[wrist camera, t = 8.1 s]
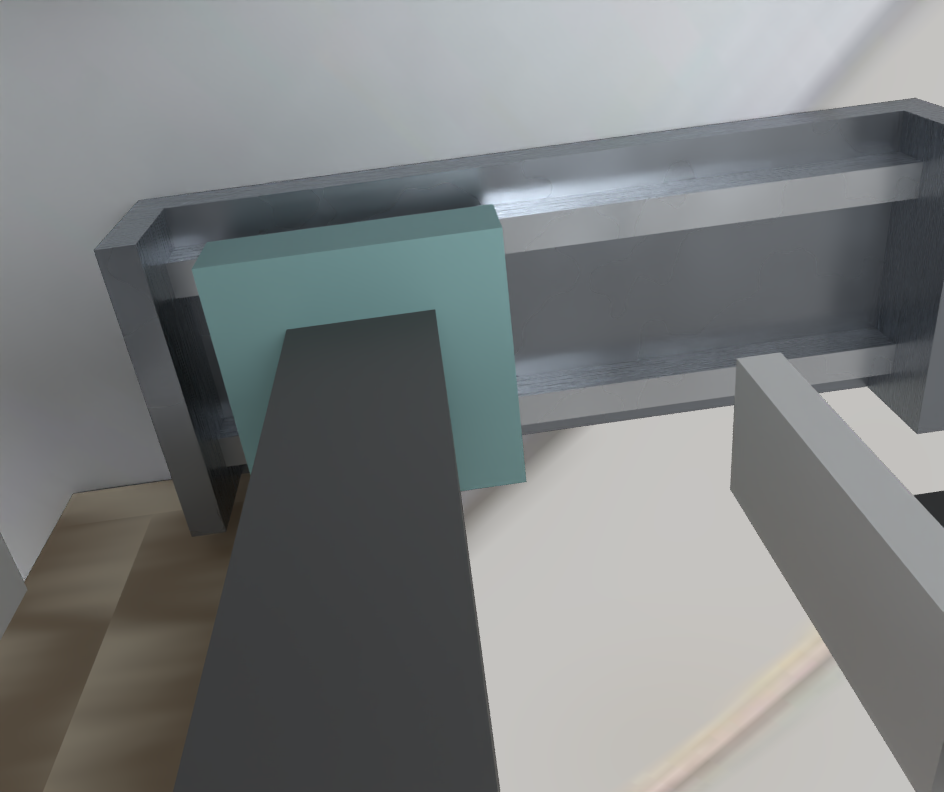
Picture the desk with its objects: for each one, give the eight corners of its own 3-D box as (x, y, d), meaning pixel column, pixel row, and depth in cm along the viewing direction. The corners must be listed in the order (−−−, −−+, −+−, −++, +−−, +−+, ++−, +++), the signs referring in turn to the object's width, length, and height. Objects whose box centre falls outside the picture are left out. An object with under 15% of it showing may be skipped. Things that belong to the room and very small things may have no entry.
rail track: (217, 457, 23) (191, 536, 20) (138, 200, 19) (93, 249, 16) (877, 365, 23) (950, 429, 20) (915, 98, 20) (1008, 127, 17)
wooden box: (153, 686, 26) (39, 1060, 18) (73, 493, 23) (-120, 843, 14) (472, 639, 27) (514, 986, 18) (442, 441, 23) (477, 753, 14)
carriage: (271, 479, 21) (140, 1111, 10) (206, 242, 18) (-87, 760, 7) (516, 444, 21) (665, 1027, 10) (493, 204, 18) (666, 649, 7)
